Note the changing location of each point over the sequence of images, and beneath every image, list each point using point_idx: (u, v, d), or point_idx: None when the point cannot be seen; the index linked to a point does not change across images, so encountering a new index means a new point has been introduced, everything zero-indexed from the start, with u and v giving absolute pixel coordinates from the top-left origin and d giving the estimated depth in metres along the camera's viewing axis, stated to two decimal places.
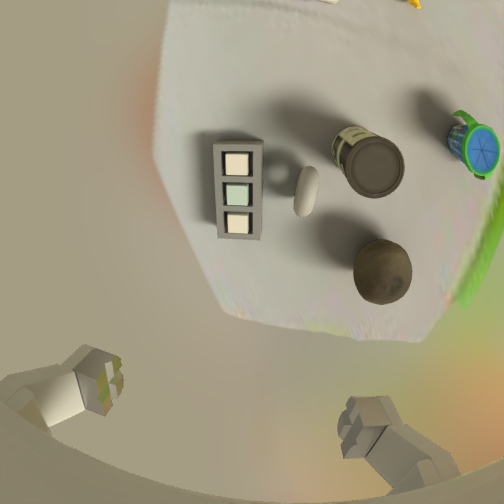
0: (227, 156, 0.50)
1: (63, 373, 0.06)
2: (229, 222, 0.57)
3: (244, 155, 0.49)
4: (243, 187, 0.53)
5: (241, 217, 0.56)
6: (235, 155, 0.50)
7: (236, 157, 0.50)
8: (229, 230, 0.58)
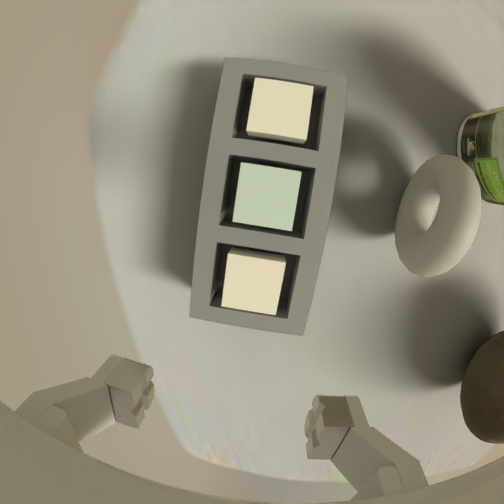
0: (259, 82, 0.16)
1: (95, 387, 0.06)
2: (229, 276, 0.20)
3: (306, 87, 0.16)
4: (289, 173, 0.18)
5: (269, 266, 0.19)
6: (281, 83, 0.16)
7: (284, 88, 0.16)
8: (225, 300, 0.20)
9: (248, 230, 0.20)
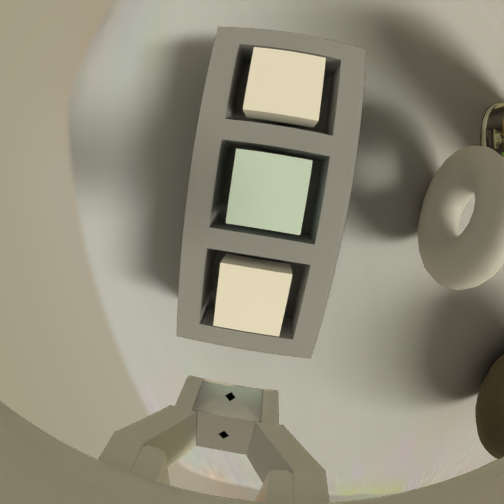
0: (259, 52, 0.12)
1: (185, 416, 0.06)
2: (222, 291, 0.16)
3: (316, 58, 0.12)
4: (297, 162, 0.14)
5: (271, 279, 0.16)
6: (286, 53, 0.12)
7: (289, 59, 0.12)
8: (218, 319, 0.16)
9: (245, 233, 0.16)
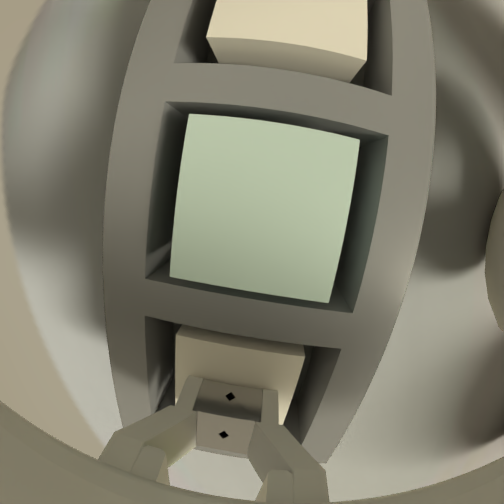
0: None
1: (185, 416, 0.06)
2: (184, 377, 0.09)
3: None
4: (328, 141, 0.06)
5: (267, 364, 0.08)
6: None
7: None
8: None
9: (215, 293, 0.08)
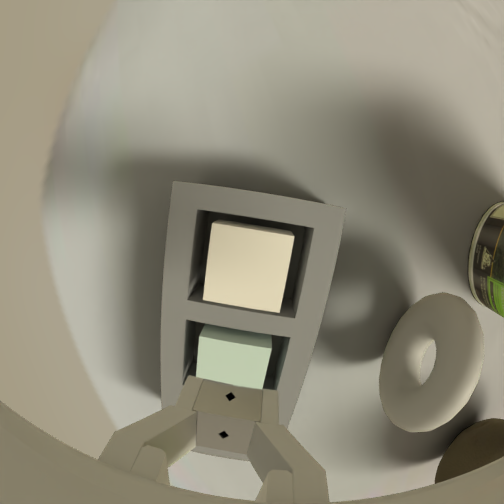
0: (218, 232, 0.14)
1: (185, 416, 0.06)
2: None
3: (283, 238, 0.14)
4: (257, 349, 0.15)
5: None
6: (249, 232, 0.14)
7: (252, 241, 0.14)
8: None
9: None
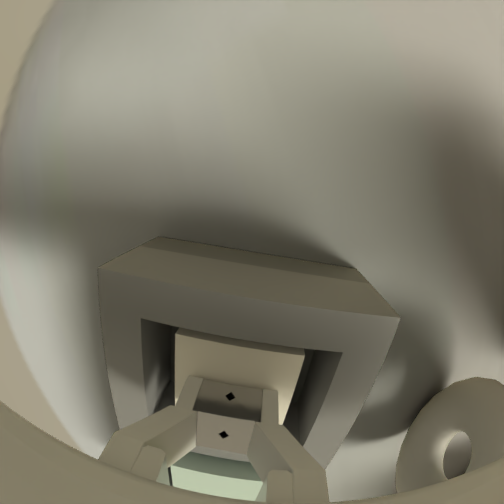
0: (185, 346, 0.08)
1: (185, 416, 0.06)
2: None
3: (287, 357, 0.08)
4: (248, 482, 0.09)
5: None
6: (233, 350, 0.08)
7: (239, 362, 0.08)
8: None
9: None
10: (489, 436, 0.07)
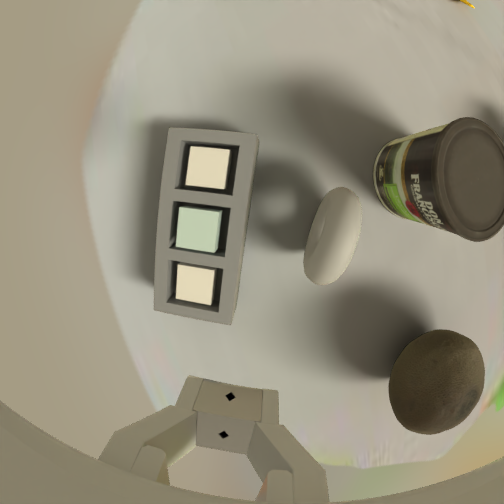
0: (193, 150, 0.27)
1: (185, 416, 0.06)
2: (179, 279, 0.30)
3: (224, 150, 0.26)
4: (211, 213, 0.27)
5: (203, 273, 0.29)
6: (208, 149, 0.27)
7: (209, 153, 0.27)
8: (178, 294, 0.30)
9: (187, 251, 0.29)
10: (329, 199, 0.25)
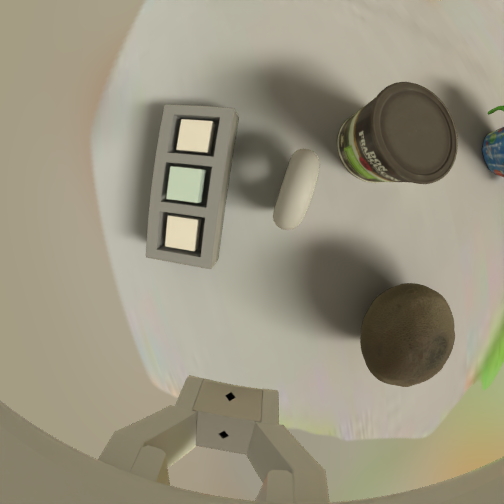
0: (183, 122, 0.32)
1: (185, 416, 0.06)
2: (168, 228, 0.35)
3: (208, 122, 0.31)
4: (195, 170, 0.32)
5: (189, 222, 0.34)
6: (195, 121, 0.31)
7: (196, 124, 0.32)
8: (167, 242, 0.35)
9: (176, 204, 0.34)
10: None
